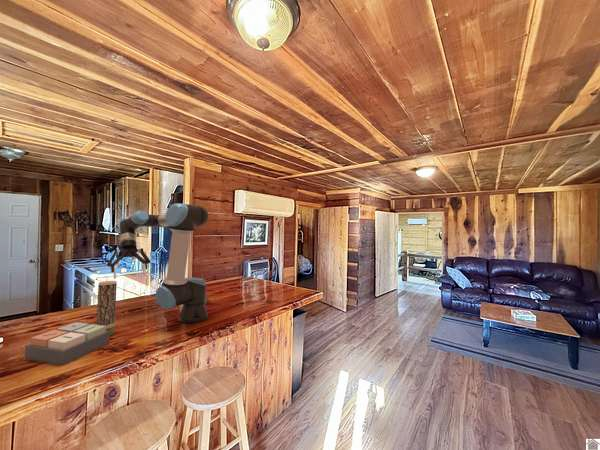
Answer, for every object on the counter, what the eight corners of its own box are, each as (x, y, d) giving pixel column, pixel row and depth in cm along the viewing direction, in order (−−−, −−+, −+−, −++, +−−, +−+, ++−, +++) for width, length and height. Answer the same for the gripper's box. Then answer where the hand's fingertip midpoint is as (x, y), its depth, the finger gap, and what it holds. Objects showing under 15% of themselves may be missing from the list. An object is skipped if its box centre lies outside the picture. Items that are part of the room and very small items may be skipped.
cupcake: (201, 305, 164) (201, 287, 164) (193, 302, 168) (194, 285, 168) (211, 302, 171) (212, 285, 171) (204, 300, 175) (204, 283, 176)
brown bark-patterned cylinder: (103, 339, 111) (106, 284, 111) (91, 337, 112) (94, 283, 113) (117, 333, 118) (120, 281, 118) (106, 331, 119) (108, 280, 119)
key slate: (89, 330, 108) (89, 323, 108) (70, 338, 101) (71, 330, 101) (75, 328, 110) (76, 322, 110) (56, 335, 102) (56, 328, 102)
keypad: (108, 343, 107) (109, 331, 108) (62, 365, 90) (63, 351, 90) (75, 338, 111) (76, 327, 111) (24, 358, 93) (25, 345, 93)
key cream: (85, 341, 98) (85, 334, 98) (63, 350, 91) (64, 342, 91) (70, 339, 100) (70, 332, 100) (48, 348, 92) (48, 340, 92)
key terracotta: (67, 339, 100) (68, 331, 100) (45, 347, 92) (46, 339, 93) (53, 337, 101) (53, 329, 101) (30, 345, 94) (30, 337, 94)
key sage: (105, 332, 107) (106, 325, 107) (88, 340, 99) (88, 332, 100) (91, 331, 108) (92, 324, 108) (73, 338, 101) (73, 330, 101)
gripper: (151, 244, 154) (154, 276, 146) (100, 245, 137) (100, 281, 129) (154, 238, 149) (157, 271, 141) (101, 239, 132) (102, 276, 124)
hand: (130, 276), depth 135 cm, fingers open, 13 cm apart
